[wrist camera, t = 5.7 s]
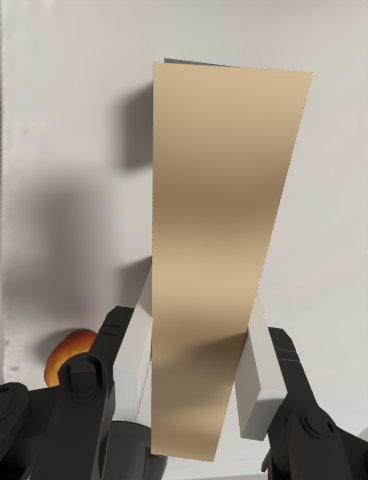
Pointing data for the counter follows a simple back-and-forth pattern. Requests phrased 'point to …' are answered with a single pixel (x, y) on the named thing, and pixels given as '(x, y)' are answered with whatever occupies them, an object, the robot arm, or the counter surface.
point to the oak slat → (211, 234)
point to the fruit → (67, 353)
